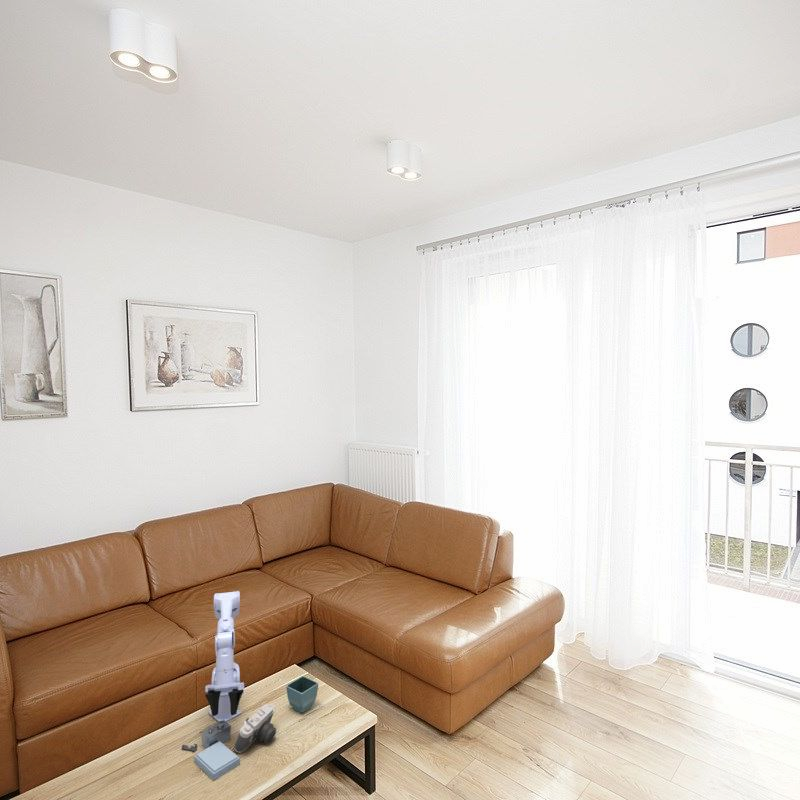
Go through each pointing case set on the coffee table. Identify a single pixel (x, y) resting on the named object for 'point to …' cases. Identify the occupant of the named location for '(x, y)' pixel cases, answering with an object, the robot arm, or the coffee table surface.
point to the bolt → (190, 747)
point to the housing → (216, 734)
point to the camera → (256, 728)
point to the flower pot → (302, 693)
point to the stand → (216, 760)
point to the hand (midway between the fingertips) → (224, 715)
